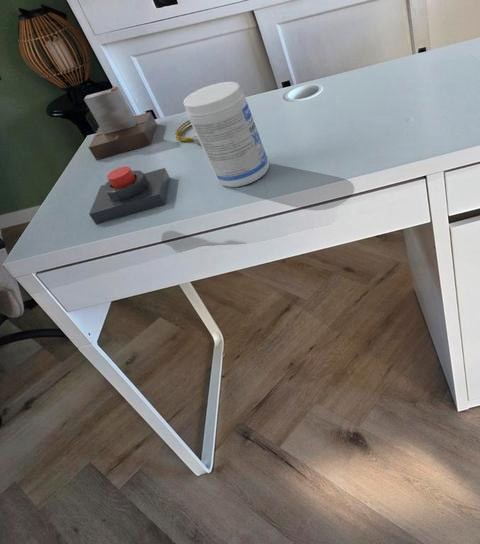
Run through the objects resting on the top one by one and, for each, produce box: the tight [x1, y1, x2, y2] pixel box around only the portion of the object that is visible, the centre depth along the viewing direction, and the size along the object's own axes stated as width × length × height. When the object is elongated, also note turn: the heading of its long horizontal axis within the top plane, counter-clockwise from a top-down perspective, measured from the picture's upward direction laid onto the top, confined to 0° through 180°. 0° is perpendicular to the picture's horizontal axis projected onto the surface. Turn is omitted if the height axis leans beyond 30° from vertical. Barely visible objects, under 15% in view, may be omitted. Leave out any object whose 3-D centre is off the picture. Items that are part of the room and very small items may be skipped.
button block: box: [88, 167, 171, 225], centre depth 85 cm, size 12×10×4 cm
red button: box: [106, 166, 136, 188], centre depth 84 cm, size 4×4×2 cm
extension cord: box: [175, 120, 201, 146], centre depth 103 cm, size 12×16×2 cm
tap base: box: [88, 111, 157, 161], centre depth 108 cm, size 12×12×3 cm
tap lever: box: [83, 85, 137, 135], centre depth 104 cm, size 7×2×8 cm, turn 102°
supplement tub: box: [182, 81, 270, 188], centre depth 81 cm, size 10×10×15 cm
